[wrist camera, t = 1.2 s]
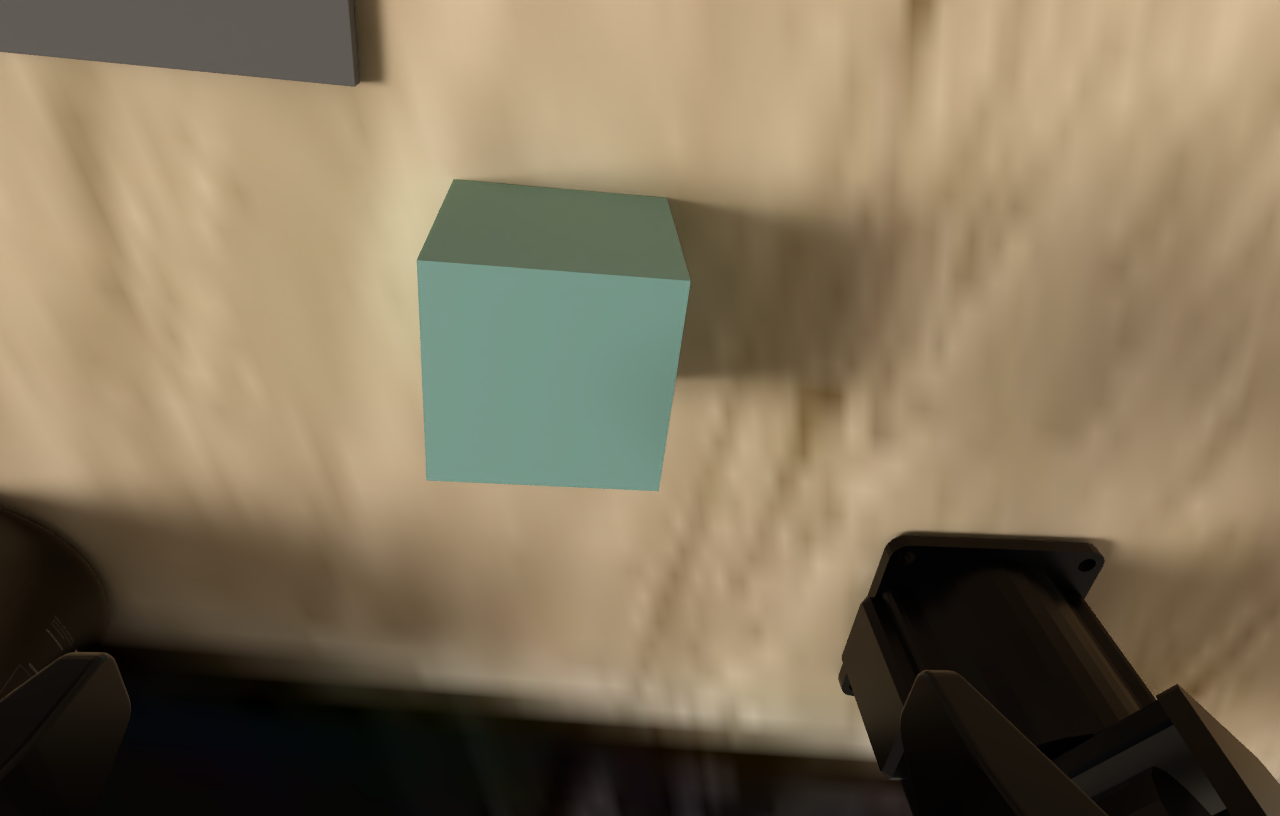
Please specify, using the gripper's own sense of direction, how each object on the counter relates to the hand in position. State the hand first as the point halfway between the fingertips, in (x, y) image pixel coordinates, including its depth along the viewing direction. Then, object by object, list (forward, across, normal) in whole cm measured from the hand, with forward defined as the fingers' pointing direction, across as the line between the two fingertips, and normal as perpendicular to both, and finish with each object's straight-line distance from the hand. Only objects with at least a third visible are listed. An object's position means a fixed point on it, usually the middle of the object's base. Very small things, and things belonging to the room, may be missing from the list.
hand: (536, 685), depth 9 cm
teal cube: (+11, 0, 0) cm, 11 cm away
